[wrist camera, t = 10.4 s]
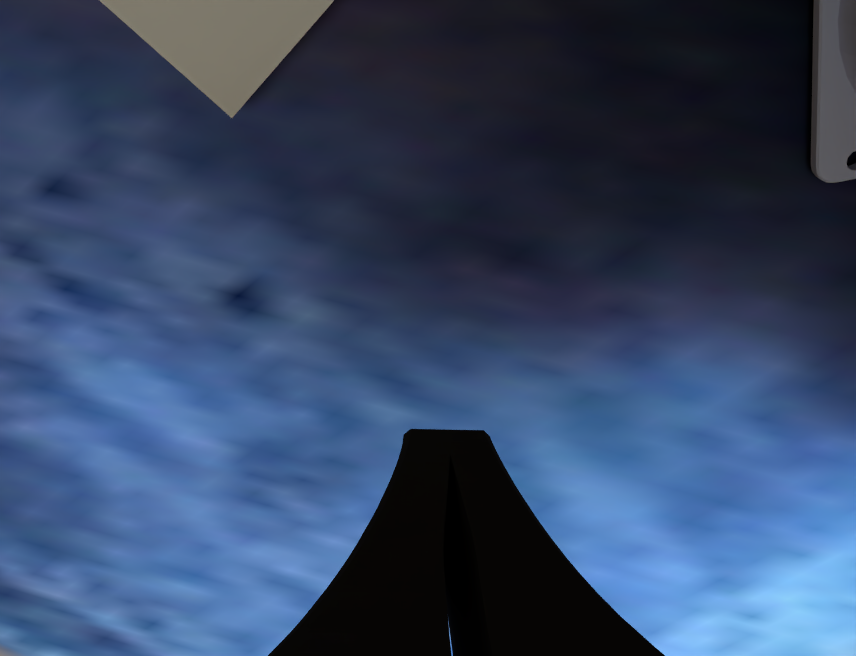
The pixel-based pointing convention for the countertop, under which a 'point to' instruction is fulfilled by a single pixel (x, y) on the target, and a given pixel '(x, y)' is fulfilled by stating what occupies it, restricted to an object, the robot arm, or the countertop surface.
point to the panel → (221, 39)
